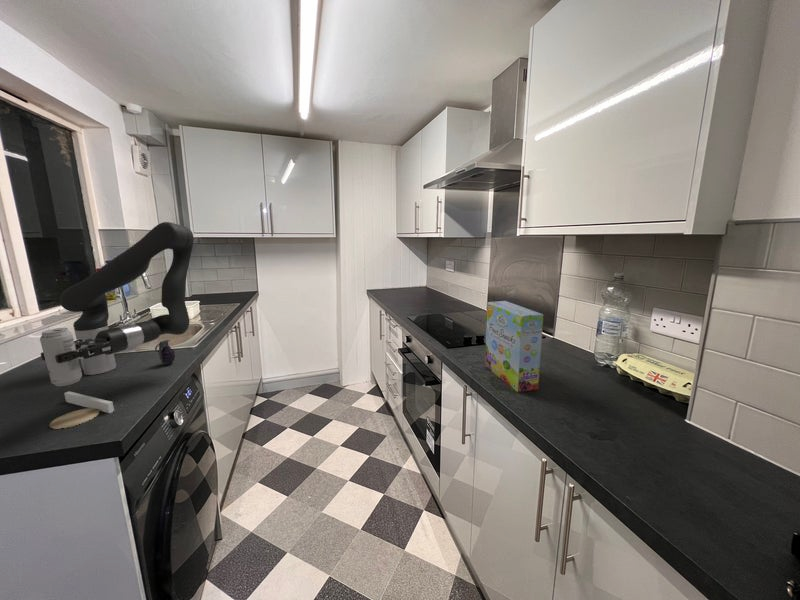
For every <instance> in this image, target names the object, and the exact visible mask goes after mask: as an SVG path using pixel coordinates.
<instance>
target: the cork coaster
mask: <svg viewBox="0 0 800 600" xmlns="http://www.w3.org/2000/svg"><path fill="white" fill-rule="evenodd" d="M99 412H101V411H99V409H96V408H88V407H86V408H82V409H78V410H73V411H70V412H67V413H65V414H63V415H60V416H58V417H56V418H54V420H52V421H51V422H50V423H49V428H51V429H52V428H53V429H52V430H62V429H61V428H64V429H67V428H68V427H69V428H72V427H76V425H77V426H80V425H82V423H83V424H84V423H85V424H86V423H87V422H90V421H91V420H93V419H95V418H96V417H98V416H99V414H100V413H99ZM94 417H95V418H94ZM89 420H90V421H89ZM79 424H80V425H79Z"/></svg>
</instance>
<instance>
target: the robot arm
mask: <svg viewBox="0 0 800 600" xmlns="http://www.w3.org/2000/svg"><path fill="white" fill-rule="evenodd" d="M193 247H194V234H193V231H192V230H191V229H190V228H189V227H187V226H184V225H181V224H178V223H174V222H169V221H164V222H160V223H159V224H157V225H155V226H154V227H152V228H151V230H149V232H147V233H146V234H144V236H143V237H142V238H140V239H139V240H138V241H137V242H136V243H134V244H133V245H132V246H130V247H129V248H127V249H126V250H125V251H123V252H122V253H120V254H118V255H117V256H116V257H114V258H113V259H111V260H109V261H108V262H107V263H106V264H105V265H103V266H101V267H100V268H98V269H97V270H96V271H94V272H93V273H92V274H91V275H89V276H87V277H86V278H84V279H83V280H80V281H79V282H77V283H75V284H73V285H72V286H69V287H67V288H66V289H65V290H64V291H63V292H62V293H61V295H60V297H59V303H60V306H61V307H62V308H63V309H65V310H66V311H69V312H71V313H72V312H73V313H79V312H80V313H81V312H82V313H81V315H80V317H79V318H78V319H76V320H75V321H74V322H73V329H74V335H75V339H76V340H74V343H75V347H76V350H75V352H74V351H70V352H66V353H63V354H59V355H56V356H55V359H56V362H57V363H63V362H66V361H70V360H73V359H76V358H77V359H79V360H80V362H81V366H82V370H83V371H82V372H83V374H84V375H85V376H87V375H88V376H95V375H99V374H103V373H108V372H110V371H113V370H114V369H116V368H117V363H116V360H115V354H116V353H120V352H123V351H126V350H130V349H132V348H136V347H137V346H141V345H142V344H146V343H149V342H153V341H155V340H157V339H158V338H160V336H162V335H167V334H168V335H175V336H176V335H178V336H179V335H183V334H185V333H186V332H187V330H188V329H189V327H190V315H189V312H188V308H187V305H186V291H187V290H186V286H187V285H186V284H187V277H188V270H189V266H190V261H191V256H192V252H193ZM166 250H172V262H171V264H170V266H169V269H168V270H167V272H166V274H165V276H164V278H163V279H162V284H161V299H160V301H161V305H162V307H164V308H165V309H167V311H168V314H162V315H161V314H160V315H158V316H155V317H153V318H150V319H148V320H145V321H140V322H136V323H131V324H124V325H121V326H115V327H112V328H109V324H108V320H109V316H110V313H109V305H108V300H107V295H106V293H108V292H109V293H110V292H111V291H114V290H116V289H118V288H121V287H123V286H126V285H128V284H130V283H132V282H134V281H135V280H137V279H138V278H140V277H141V276H142V275H143V274H145V273H146V272H147V270H148V269H149V267H150V262H151V260H152V259H153V258H154V257H155V256H157V255H159V254H160V253H161V252H163V251H166ZM40 357H41V360H43V361H45V357H44V353H43V351H42V352H40Z"/></svg>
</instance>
